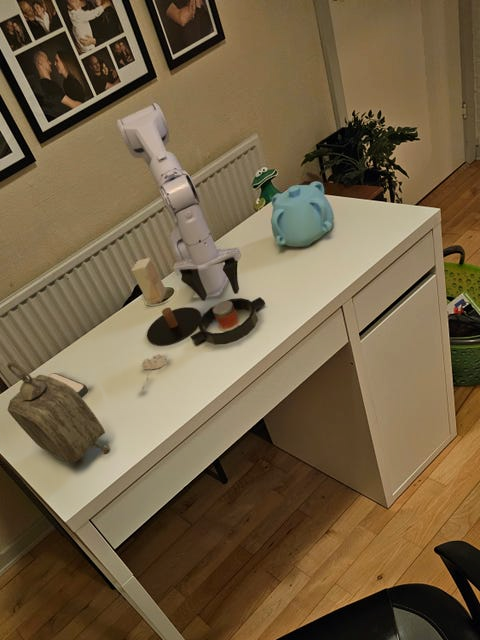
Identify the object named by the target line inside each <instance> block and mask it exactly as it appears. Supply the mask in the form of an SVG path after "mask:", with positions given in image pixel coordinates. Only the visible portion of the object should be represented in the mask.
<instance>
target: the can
mask: <svg viewBox="0 0 480 640" xmlns="http://www.w3.org/2000/svg"><path fill="white" fill-rule="evenodd" d="M213 306H214V308H213V313H214V316H215V318H216V319H215V321H216V322H217V324H218V327H219V329H220V332H222V333H223V332H226V331H229V330H232V329H234V328H236V327H237V326H239V325H241V321H240V319H239V316H238V313H237V310H235V308H234V306H233V304H232V302H231V301H226V300H223V301H220V302H217V304H215V305H213Z"/></svg>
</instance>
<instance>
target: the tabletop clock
mask: <svg viewBox="0 0 480 640" xmlns="http://www.w3.org/2000/svg"><path fill="white" fill-rule="evenodd" d="M6 365H7V366H6V367H7V368H8V370H9V371H10V372H11V373H12V374H13V375H14V376H15V377H16V378H17V379H19V380H20V381H22V383H21V386H20V387H19V392H18V393H17V394H16V395H14V396H13V397H12V398H11V399H10V400H9V403H8V407H7V412H8V413H9V415H10V416H11V417H12V419H14V420H15V422H16V423H17V424H18V425H19V426H20V428H21V429H22V430H23V431H24V432H25V434H27V436H29V438H30V439H31V440H32V442H34V443H35V444H36V445H37V446H38V447H39V448H41V450H43V451H45V452H47V453H49V454H51V455H52V456H54V457H56V458H58V459H59V460H61V461H64V462H67V463H70V462H72V463H77V462H79V460H80V459H81V458H82V457H83V456H84V455H85V453H87V452H88V451H89V449H91V448H92V447H94V448H98V449H100V451H101V453H103V454H108V453H109V451H110V447H109V446H108V445H106V444H105V445H104V444H103V445H101V444H98V443H97V441H98V440H99V439H100V438H101V437H102V436H103V435H105V433H106V432H105V428H104V426H103V425H102V424H101V422H100V421H99V419H98V418H97V416H96V415H95V413H94V412H93V410H91V408H90V407H89V405H88V404H87V403H86V401H85V400H84V399H83V398H82V396H81V397H80V396H79V394H78V393H77V392H76V391H75V390H74V389H73V388H72V387H70V386H68V385H67V384H65V383H63V382H61V381H58V380H56V379H54V378H51V377H48V376H49V375H44V374H38V375H37V376H35V377H32V376H31V374H30V373H29V372H28V371H27V370H26V369H24V368H23V367H22V366H20V365H19V364H17V363H15V362H11V361H10V362H8V363H7V364H6ZM13 368H14V369H17V370H19V371H20V372H22V374H19V373H17V372H16V371H14V369H13Z"/></svg>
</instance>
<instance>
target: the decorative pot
mask: <svg viewBox="0 0 480 640" xmlns="http://www.w3.org/2000/svg"><path fill="white" fill-rule="evenodd" d="M270 203H271V205H272V212H271V218H270V224H271V231H272V235H273V237H274V239H275V244H276V245H277V246H283V245H285V246H289V247H297V248H299V247H303V248H307V247H310V246H311V245H312V244H313V243H314V242H316V241H317V240H319V239H320V238H322V237H323V236H324V235H325V234H327V232H330V231H331V230H332V228H333V225H332V224H333V222H334V219H335V218H334V217H335V214H334V211H333V208H332V206H331V203H330V202H329V200H328V198H327V196H326V195H325V186H324V184H323V183H322V182H321V181H312V182H311V183H310V184H294V185H292V186H290V187H288V188H287V190H286V191H284V192H283V193H276V194H274V195H273V196H272V198H271V202H270Z"/></svg>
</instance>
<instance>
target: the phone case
mask: <svg viewBox="0 0 480 640" xmlns="http://www.w3.org/2000/svg"><path fill="white" fill-rule="evenodd" d="M47 376H48V377H51V378H54V379H56V380H58V381H61V382H63V383H65V384H67V385H68V386H70V387H72V388H73V389H74V390H75V391H76V392H77V393H78V394H79V396H80V397H81V398H82V397H83V396H84V395H85V394H86V393H87V392H88V387H87V386H86V384H84V383H82V382H79V381H77V380H74V379H71V378H69V377H66V376H64V375H62V374H59V373H56V372H53V373H50V374H49V375H47Z"/></svg>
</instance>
